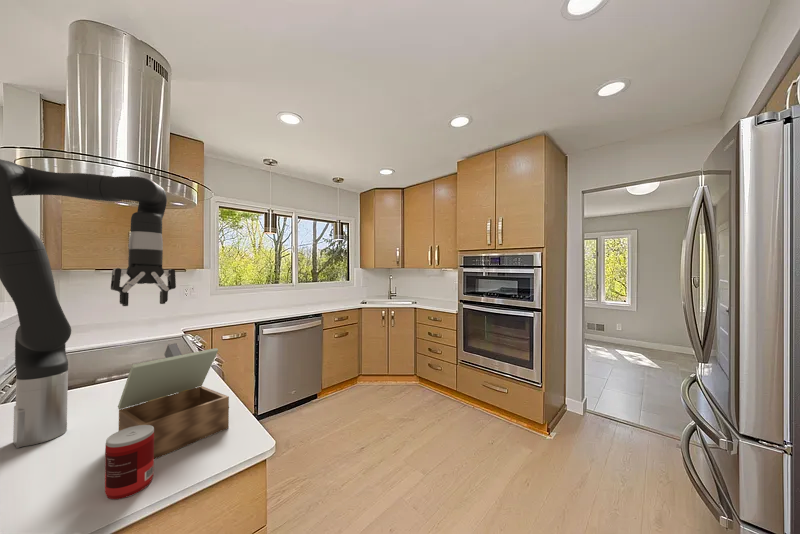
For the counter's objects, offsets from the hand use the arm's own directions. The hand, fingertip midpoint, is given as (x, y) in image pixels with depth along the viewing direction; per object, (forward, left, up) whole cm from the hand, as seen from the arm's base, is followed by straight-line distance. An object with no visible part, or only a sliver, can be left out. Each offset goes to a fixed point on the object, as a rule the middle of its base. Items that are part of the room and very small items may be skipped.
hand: (144, 304), depth 86 cm
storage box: (+4, -11, -36) cm, 38 cm away
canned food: (-10, -26, -36) cm, 46 cm away
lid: (+4, -8, -21) cm, 22 cm away
